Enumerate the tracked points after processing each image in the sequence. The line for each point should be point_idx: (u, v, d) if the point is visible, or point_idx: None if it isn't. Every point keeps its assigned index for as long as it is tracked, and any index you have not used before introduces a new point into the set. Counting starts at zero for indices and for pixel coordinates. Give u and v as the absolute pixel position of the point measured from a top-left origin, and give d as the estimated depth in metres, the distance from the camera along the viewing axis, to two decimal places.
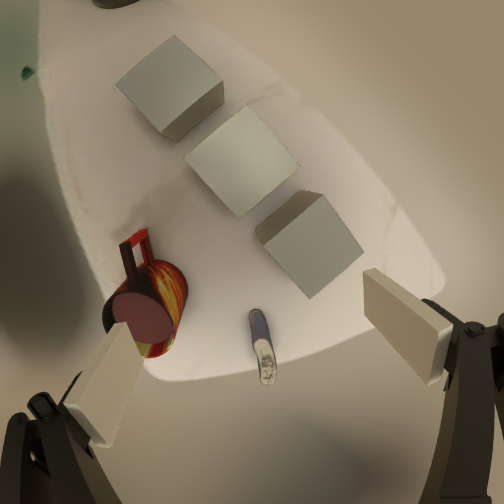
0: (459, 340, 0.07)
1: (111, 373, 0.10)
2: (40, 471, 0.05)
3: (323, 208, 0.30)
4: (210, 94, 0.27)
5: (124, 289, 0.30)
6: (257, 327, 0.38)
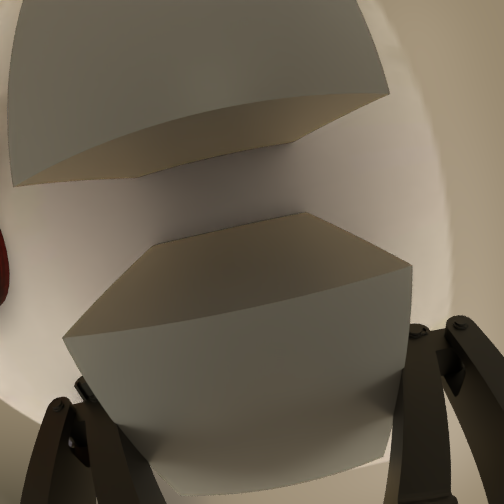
0: None
1: None
2: (76, 460, 0.06)
3: (379, 318, 0.06)
4: None
5: None
6: None
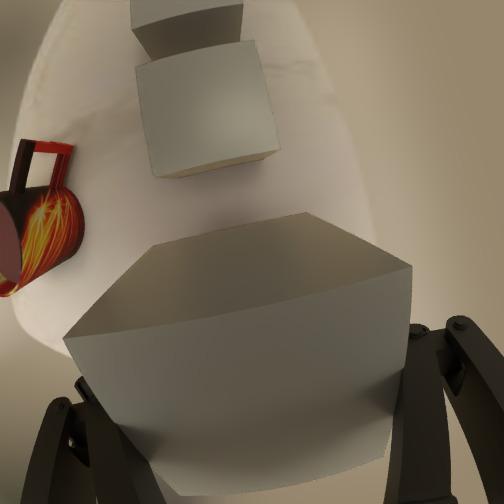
0: None
1: None
2: (76, 460, 0.06)
3: (379, 319, 0.06)
4: (219, 16, 0.16)
5: None
6: None
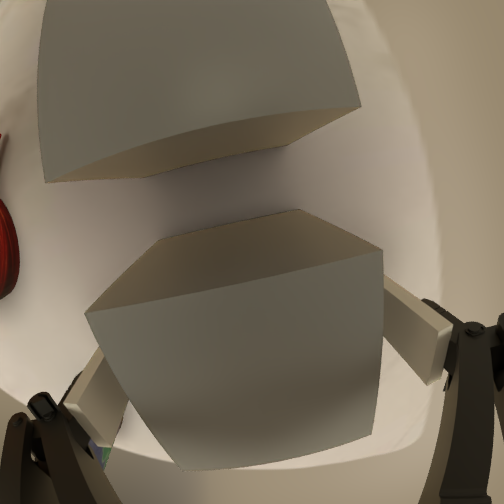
0: (459, 340, 0.07)
1: (111, 373, 0.10)
2: (40, 471, 0.05)
3: (355, 295, 0.08)
4: None
5: None
6: None
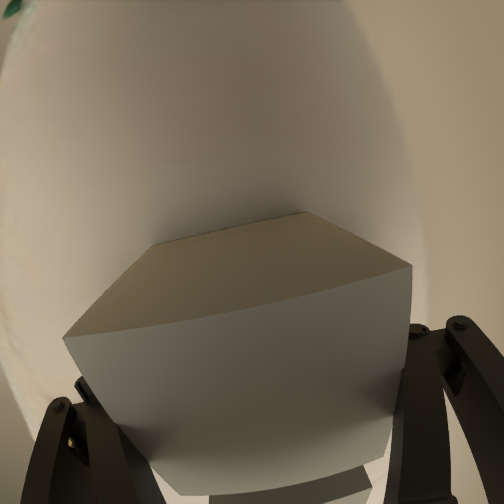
0: None
1: None
2: (76, 460, 0.06)
3: None
4: None
5: None
6: None
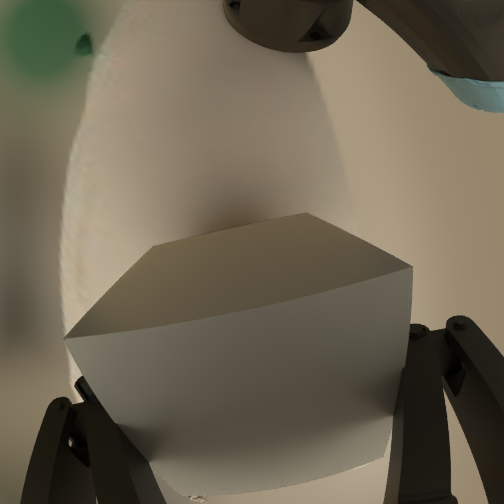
0: None
1: None
2: (76, 460, 0.06)
3: None
4: None
5: None
6: None
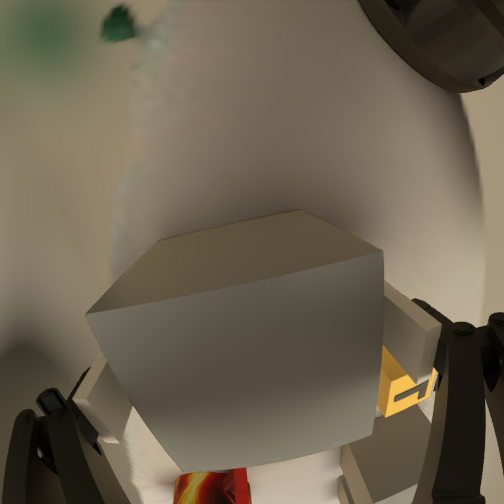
0: (448, 340, 0.07)
1: None
2: (46, 469, 0.05)
3: None
4: None
5: None
6: None
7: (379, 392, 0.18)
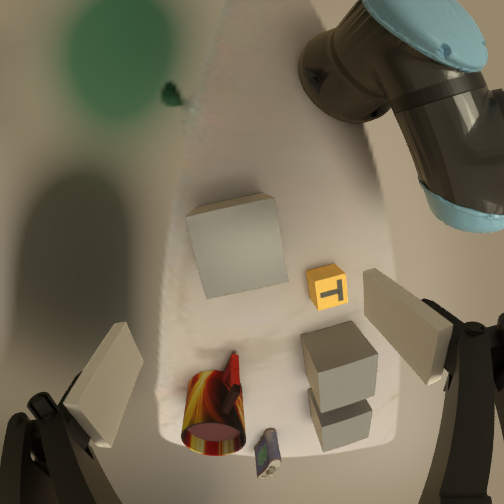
0: (459, 340, 0.07)
1: (111, 373, 0.10)
2: (40, 471, 0.05)
3: (366, 416, 0.37)
4: None
5: (221, 420, 0.33)
6: (275, 449, 0.43)
7: (313, 294, 0.38)
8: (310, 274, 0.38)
